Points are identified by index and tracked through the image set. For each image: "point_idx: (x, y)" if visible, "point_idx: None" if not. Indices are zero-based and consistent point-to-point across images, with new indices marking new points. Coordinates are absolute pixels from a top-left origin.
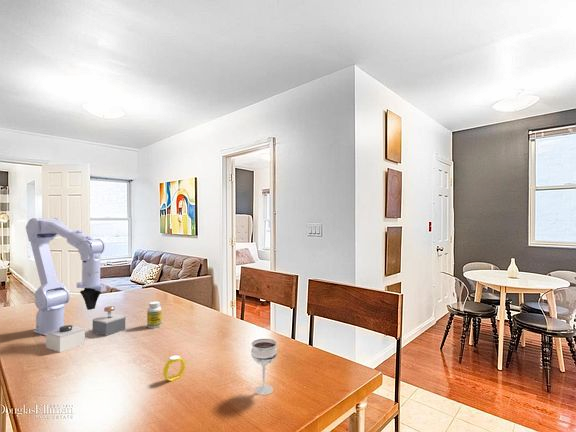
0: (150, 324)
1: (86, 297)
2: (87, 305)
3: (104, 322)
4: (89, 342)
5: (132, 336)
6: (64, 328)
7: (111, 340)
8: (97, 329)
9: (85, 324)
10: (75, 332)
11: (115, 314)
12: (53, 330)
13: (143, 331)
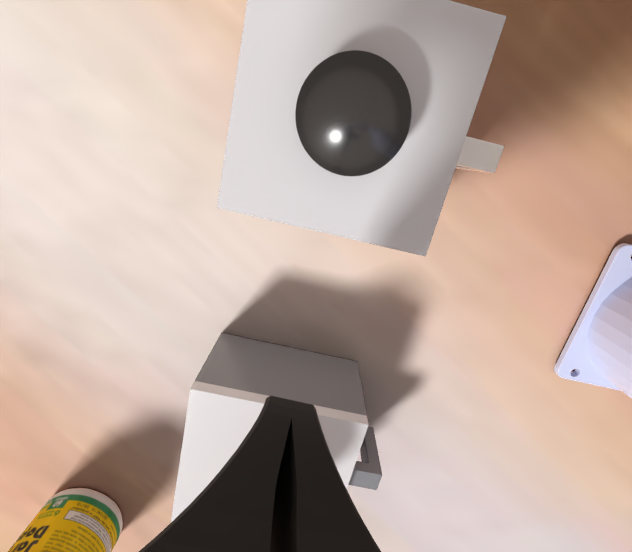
0: (64, 505)
1: (249, 547)
2: (284, 431)
3: (216, 388)
4: (234, 220)
5: (62, 363)
6: (323, 66)
7: (126, 282)
8: (307, 366)
9: (514, 460)
10: (233, 118)
11: None
12: (470, 83)
13: (72, 439)
